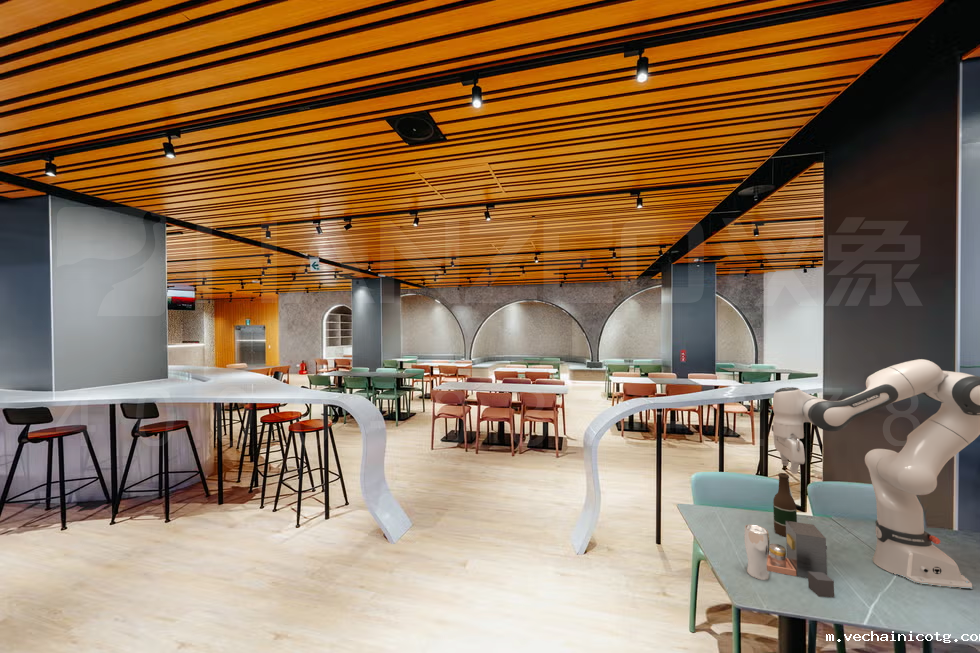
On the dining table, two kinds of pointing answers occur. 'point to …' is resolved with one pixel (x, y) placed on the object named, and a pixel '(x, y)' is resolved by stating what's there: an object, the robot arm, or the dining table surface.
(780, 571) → the tray
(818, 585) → the rubber block
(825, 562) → the dark grey block
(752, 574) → the beer glass
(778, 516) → the beer bottle
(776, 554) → the cylinder
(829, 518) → the dining table surface
